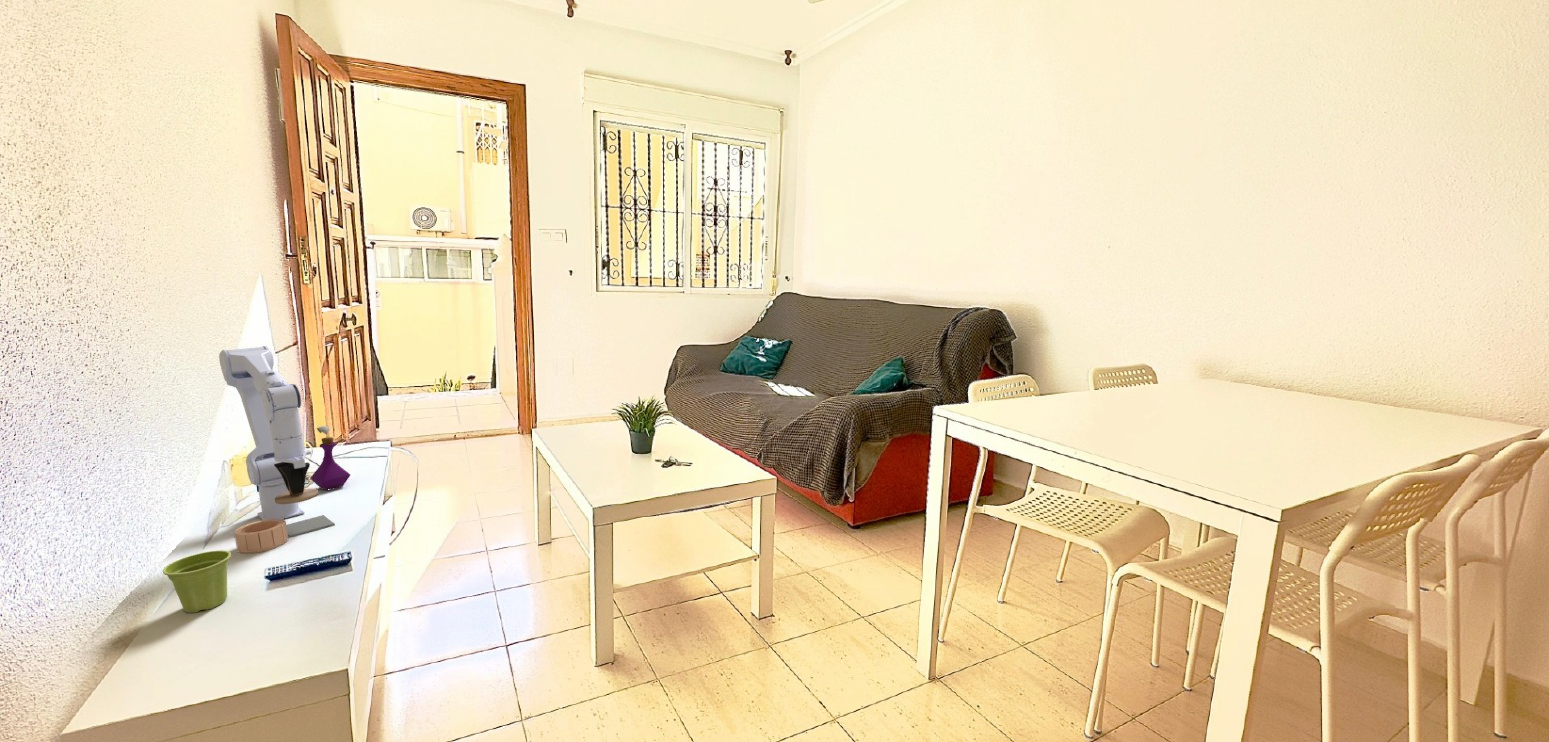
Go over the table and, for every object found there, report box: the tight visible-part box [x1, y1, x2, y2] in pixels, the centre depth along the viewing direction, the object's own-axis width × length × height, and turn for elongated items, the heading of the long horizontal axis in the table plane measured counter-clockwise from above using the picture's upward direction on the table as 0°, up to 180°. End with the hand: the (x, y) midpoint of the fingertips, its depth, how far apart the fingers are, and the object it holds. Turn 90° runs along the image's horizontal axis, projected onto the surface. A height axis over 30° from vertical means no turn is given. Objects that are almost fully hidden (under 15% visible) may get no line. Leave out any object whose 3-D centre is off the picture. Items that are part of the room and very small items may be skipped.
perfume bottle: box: [309, 425, 351, 491], centre depth 183 cm, size 8×8×18 cm
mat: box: [286, 514, 336, 538], centre depth 156 cm, size 9×9×1 cm
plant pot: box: [162, 549, 232, 614], centre depth 119 cm, size 9×9×9 cm
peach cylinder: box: [233, 519, 289, 555], centre depth 145 cm, size 9×9×4 cm
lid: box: [275, 484, 320, 504], centre depth 153 cm, size 8×8×5 cm
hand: (296, 491), depth 153 cm, fingers closed on lid, 3 cm apart
